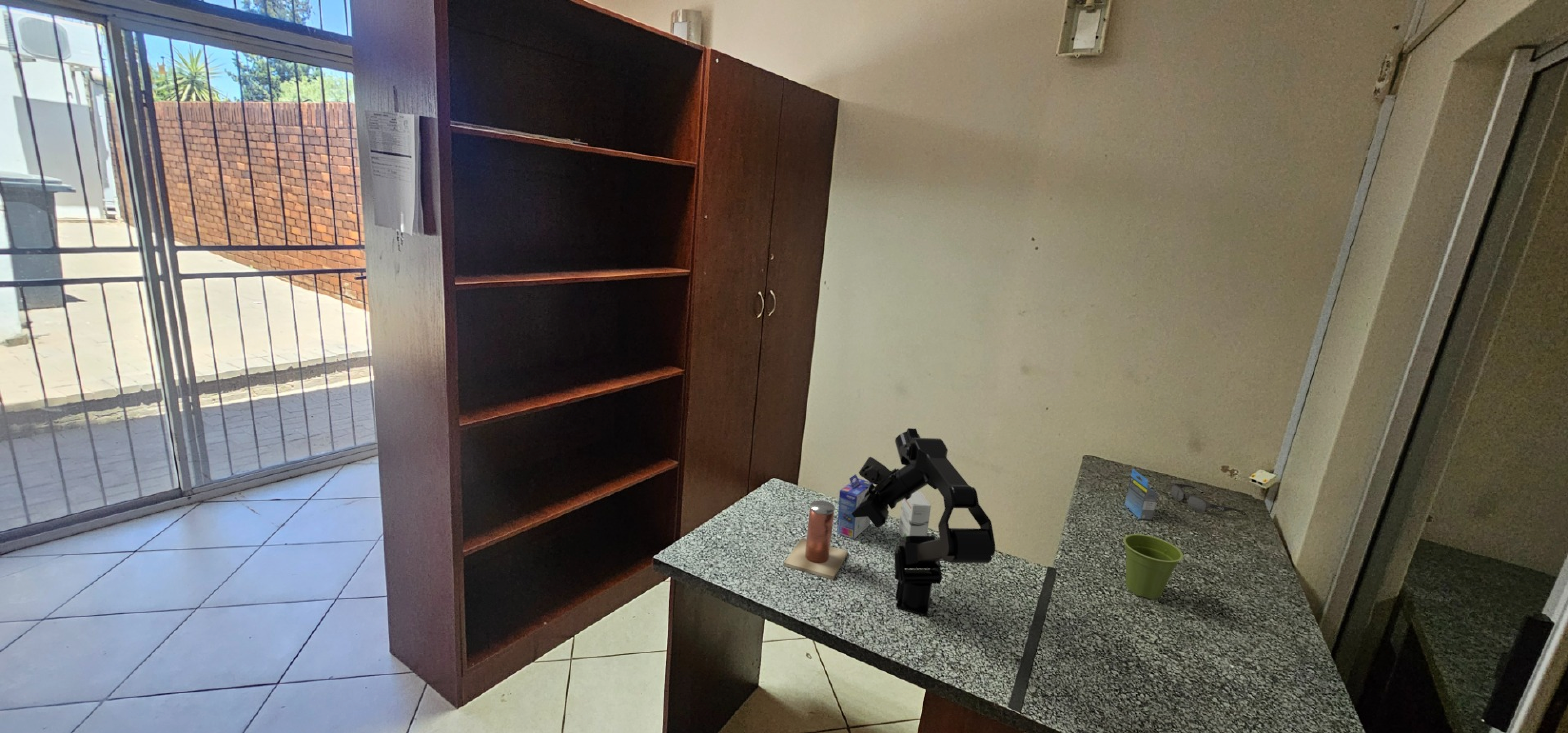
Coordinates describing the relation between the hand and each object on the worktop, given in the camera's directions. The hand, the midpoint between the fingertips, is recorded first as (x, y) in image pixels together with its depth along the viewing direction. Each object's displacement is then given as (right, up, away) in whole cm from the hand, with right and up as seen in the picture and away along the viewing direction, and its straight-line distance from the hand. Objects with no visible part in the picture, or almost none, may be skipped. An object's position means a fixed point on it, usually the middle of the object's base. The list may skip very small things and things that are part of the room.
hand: (853, 515), depth 138 cm
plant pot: (+67, -18, +3) cm, 70 cm away
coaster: (-8, -12, +6) cm, 16 cm away
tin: (-8, -11, +6) cm, 15 cm away
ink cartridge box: (+2, -9, +21) cm, 23 cm away
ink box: (+17, -11, +18) cm, 27 cm away
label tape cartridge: (+90, -10, +43) cm, 100 cm away
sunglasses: (+116, -10, +53) cm, 128 cm away
